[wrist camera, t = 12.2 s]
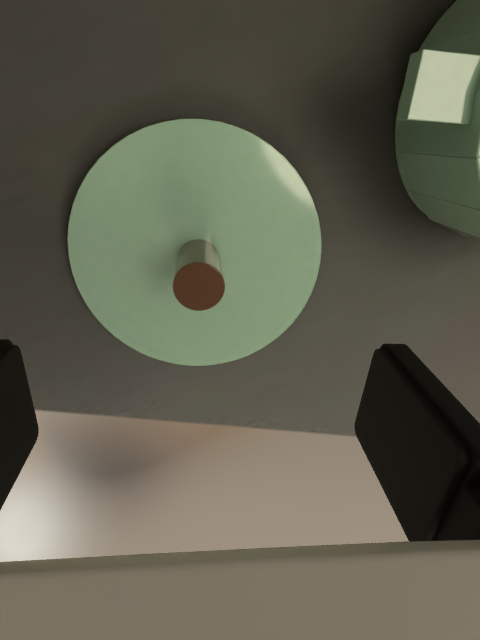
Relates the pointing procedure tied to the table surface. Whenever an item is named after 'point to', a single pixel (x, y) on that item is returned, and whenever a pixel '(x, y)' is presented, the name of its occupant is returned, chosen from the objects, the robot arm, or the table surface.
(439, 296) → the table surface
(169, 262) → the pot lid
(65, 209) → the table surface
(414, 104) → the pot
